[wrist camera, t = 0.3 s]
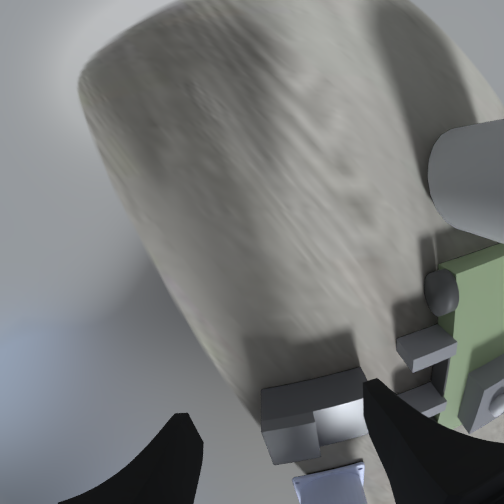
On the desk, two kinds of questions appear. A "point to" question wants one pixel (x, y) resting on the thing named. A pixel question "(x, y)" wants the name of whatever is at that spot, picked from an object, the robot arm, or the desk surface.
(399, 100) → the desk surface
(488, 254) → the deck
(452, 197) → the can
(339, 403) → the grey rectangular box
